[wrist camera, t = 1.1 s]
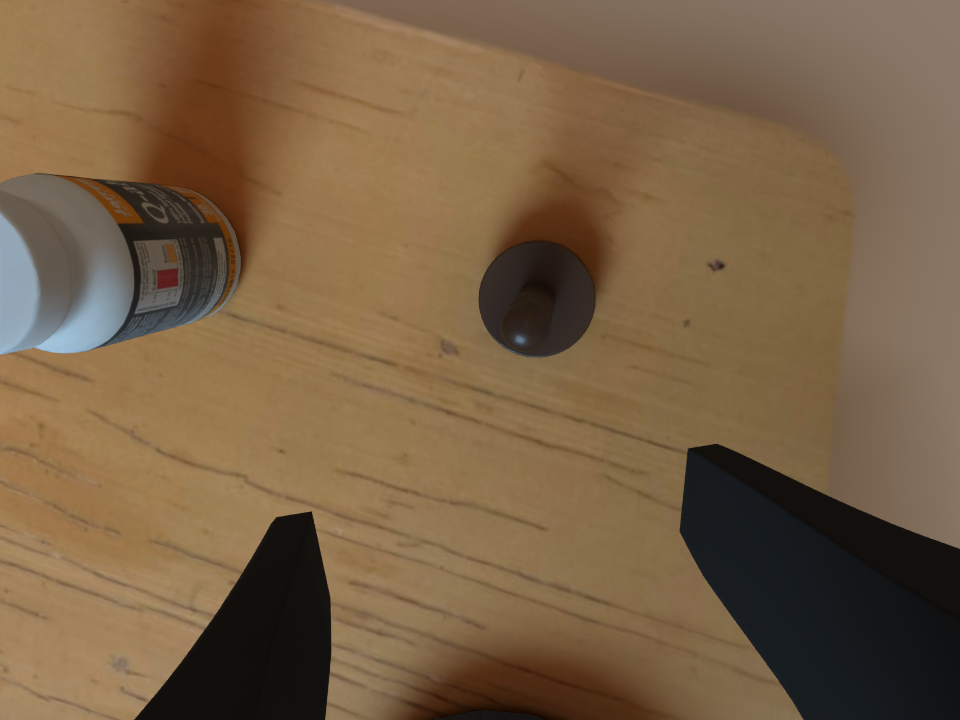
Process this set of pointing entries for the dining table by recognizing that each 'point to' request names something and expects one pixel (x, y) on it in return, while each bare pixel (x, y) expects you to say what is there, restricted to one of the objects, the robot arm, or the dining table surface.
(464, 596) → the dining table surface
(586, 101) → the dining table surface
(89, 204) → the pill bottle
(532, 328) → the joystick
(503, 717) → the serving tray
